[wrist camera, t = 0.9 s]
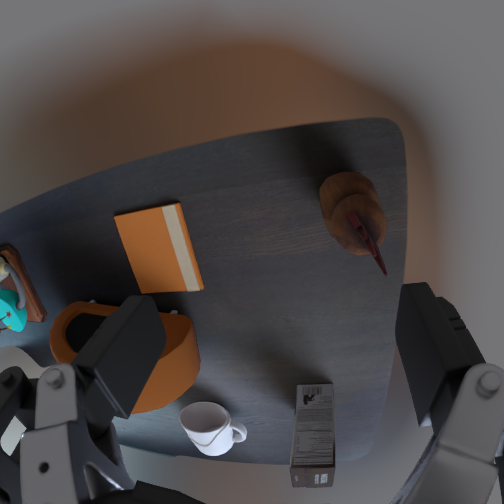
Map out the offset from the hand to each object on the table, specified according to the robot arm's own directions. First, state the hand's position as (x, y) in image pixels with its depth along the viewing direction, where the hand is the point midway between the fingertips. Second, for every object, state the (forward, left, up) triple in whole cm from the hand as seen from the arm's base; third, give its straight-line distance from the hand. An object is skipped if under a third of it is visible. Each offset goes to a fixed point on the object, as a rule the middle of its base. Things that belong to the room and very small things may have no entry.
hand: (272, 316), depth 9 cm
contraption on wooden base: (+11, -56, -26) cm, 62 cm away
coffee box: (+39, -1, -26) cm, 46 cm away
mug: (+44, -20, -26) cm, 54 cm away
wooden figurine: (+4, +5, -26) cm, 26 cm away
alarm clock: (+20, -28, -26) cm, 42 cm away
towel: (+8, -19, -25) cm, 32 cm away
